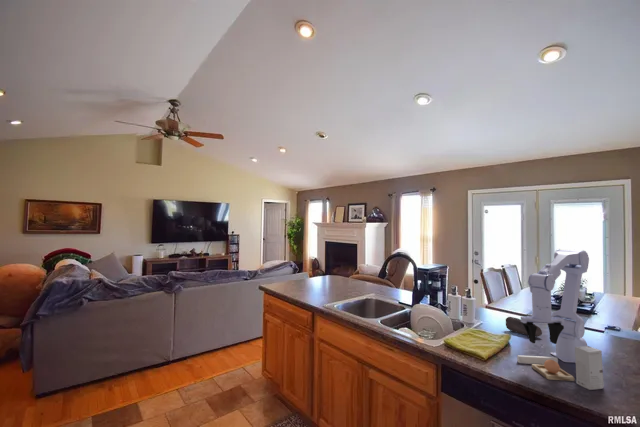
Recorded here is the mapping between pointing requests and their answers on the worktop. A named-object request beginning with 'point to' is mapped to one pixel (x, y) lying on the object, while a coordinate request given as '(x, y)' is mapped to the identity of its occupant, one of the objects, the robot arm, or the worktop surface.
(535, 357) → the bar
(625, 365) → the worktop surface
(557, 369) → the ball
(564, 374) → the tray
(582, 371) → the skincare box
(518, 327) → the perforated stone tool
